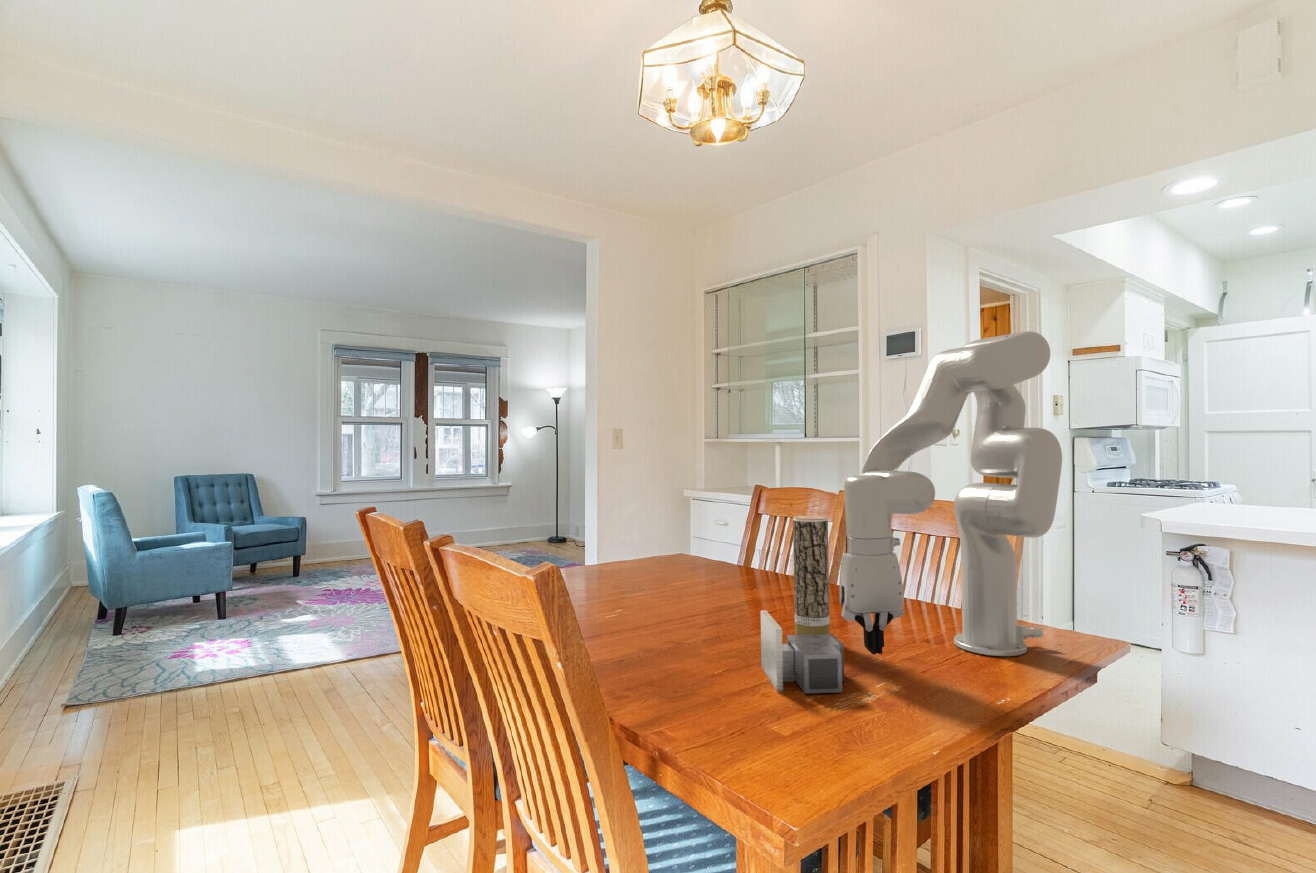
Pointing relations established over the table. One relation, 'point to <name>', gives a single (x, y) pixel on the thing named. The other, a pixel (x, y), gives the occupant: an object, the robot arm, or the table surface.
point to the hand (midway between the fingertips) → (874, 651)
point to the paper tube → (811, 575)
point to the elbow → (818, 662)
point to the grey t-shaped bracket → (776, 653)
